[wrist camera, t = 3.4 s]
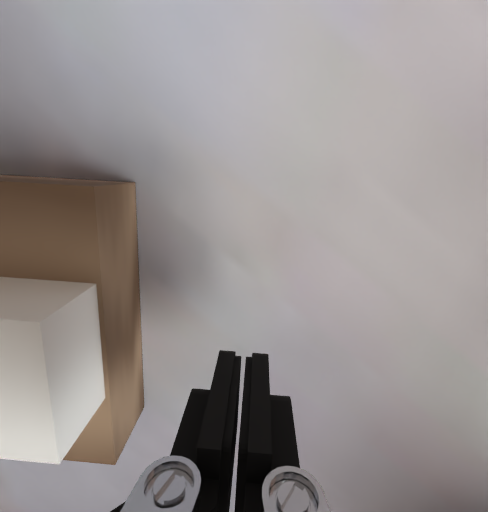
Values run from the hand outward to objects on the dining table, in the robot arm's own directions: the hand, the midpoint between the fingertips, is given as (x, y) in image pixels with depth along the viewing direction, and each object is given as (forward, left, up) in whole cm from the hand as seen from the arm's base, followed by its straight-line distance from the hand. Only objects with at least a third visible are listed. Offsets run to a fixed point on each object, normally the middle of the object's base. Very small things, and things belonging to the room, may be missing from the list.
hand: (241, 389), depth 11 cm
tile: (0, -8, -1) cm, 8 cm away
